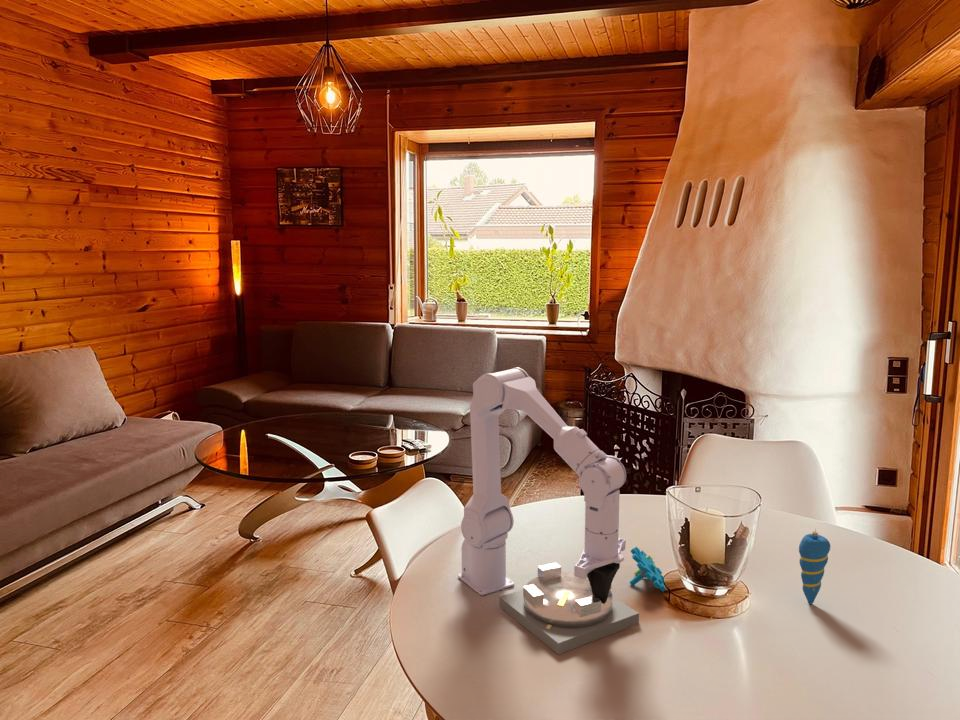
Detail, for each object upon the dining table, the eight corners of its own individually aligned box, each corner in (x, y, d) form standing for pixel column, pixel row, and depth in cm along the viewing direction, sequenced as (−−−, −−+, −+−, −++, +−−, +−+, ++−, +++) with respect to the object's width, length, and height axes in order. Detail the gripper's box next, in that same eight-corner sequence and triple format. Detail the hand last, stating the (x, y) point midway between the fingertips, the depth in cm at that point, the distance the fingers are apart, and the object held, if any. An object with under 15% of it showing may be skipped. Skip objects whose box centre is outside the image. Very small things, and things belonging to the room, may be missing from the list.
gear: (670, 594, 129) (634, 552, 131) (647, 613, 130) (611, 571, 132) (672, 576, 140) (638, 537, 142) (650, 593, 141) (616, 555, 143)
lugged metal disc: (538, 576, 135) (539, 557, 135) (620, 591, 129) (620, 571, 129) (511, 616, 121) (511, 595, 120) (601, 634, 115) (601, 612, 114)
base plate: (499, 606, 128) (499, 595, 128) (574, 582, 137) (575, 572, 137) (558, 654, 113) (558, 642, 113) (638, 623, 122) (639, 612, 122)
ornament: (825, 600, 130) (831, 525, 127) (826, 613, 125) (832, 536, 123) (795, 595, 132) (800, 521, 129) (795, 607, 127) (800, 531, 125)
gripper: (601, 548, 110) (599, 626, 112) (642, 520, 121) (639, 592, 123) (563, 537, 114) (562, 612, 116) (606, 511, 125) (604, 580, 127)
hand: (599, 601), depth 120 cm, fingers closed
